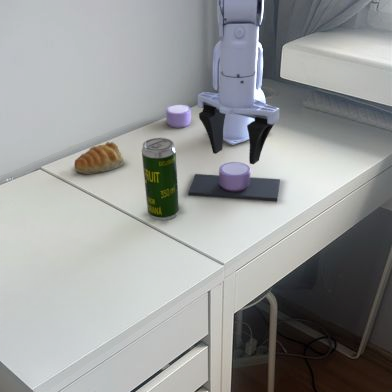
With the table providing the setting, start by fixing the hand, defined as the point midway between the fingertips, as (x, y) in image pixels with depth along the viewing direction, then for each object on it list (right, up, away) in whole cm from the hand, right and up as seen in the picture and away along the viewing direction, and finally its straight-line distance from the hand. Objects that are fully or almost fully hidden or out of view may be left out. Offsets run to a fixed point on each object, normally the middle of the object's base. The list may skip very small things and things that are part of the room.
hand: (235, 156), depth 88 cm
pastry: (-26, +3, +12) cm, 29 cm away
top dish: (0, -4, +4) cm, 5 cm away
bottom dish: (-11, +18, +26) cm, 33 cm away
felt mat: (0, -4, +4) cm, 6 cm away
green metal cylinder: (-13, -10, -1) cm, 16 cm away
